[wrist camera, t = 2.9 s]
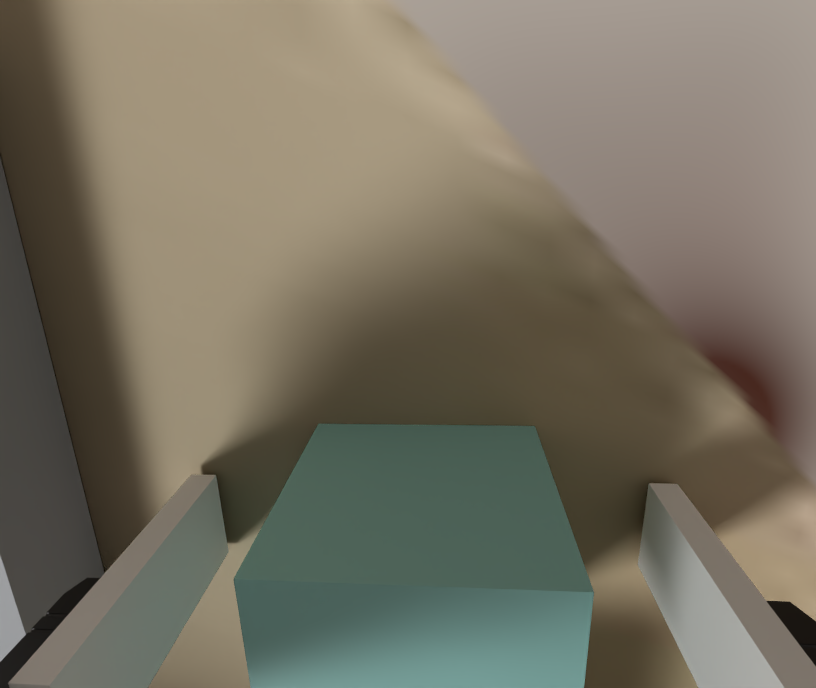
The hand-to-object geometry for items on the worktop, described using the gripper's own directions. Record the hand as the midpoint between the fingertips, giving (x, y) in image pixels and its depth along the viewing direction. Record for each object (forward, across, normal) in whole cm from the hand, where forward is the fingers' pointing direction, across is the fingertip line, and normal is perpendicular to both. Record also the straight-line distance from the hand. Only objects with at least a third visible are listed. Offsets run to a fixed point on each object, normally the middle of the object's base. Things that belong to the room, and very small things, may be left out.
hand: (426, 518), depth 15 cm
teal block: (0, 0, 0) cm, 0 cm away
